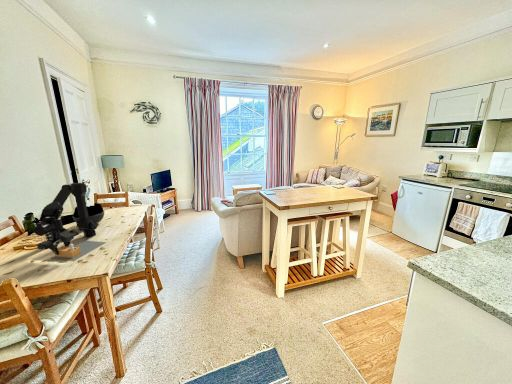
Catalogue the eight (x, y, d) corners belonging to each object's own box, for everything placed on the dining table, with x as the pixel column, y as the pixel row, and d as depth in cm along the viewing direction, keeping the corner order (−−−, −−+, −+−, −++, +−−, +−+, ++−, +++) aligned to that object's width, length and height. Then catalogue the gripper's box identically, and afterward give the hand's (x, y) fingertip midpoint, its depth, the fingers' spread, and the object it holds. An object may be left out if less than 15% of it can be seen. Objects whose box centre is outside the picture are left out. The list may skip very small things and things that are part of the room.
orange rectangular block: (55, 256, 122) (53, 250, 121) (64, 251, 127) (62, 246, 126) (73, 258, 120) (71, 251, 119) (81, 253, 125) (79, 247, 124)
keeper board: (50, 261, 120) (46, 246, 118) (86, 242, 141) (83, 230, 139) (74, 263, 118) (71, 249, 115) (107, 244, 139) (104, 231, 136)
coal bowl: (69, 227, 164) (63, 205, 159) (96, 218, 182) (92, 198, 177) (85, 232, 157) (80, 208, 152) (111, 222, 175) (107, 200, 170)
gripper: (50, 236, 110) (57, 262, 114) (83, 222, 127) (89, 245, 131) (32, 234, 111) (40, 260, 115) (68, 221, 129) (73, 244, 133)
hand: (62, 252), depth 124 cm, fingers open, 5 cm apart
